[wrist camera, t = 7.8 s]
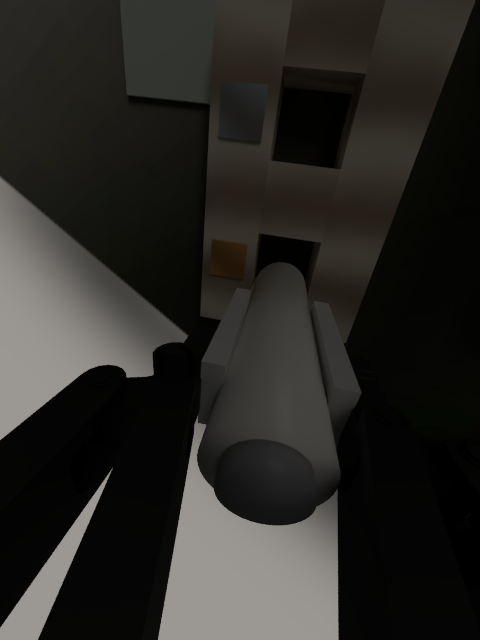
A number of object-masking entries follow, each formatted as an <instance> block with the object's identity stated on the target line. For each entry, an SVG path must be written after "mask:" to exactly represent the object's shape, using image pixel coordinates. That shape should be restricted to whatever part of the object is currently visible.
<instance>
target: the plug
mask: <svg viewBox="0 0 480 640" xmlns="http://www.w3.org/2000/svg"><path fill="white" fill-rule="evenodd" d="M197 462H198V466H199V469H200V472H201V473H202V475H203V477H204V478H205V480H206V481H207V482H208V483H209V484H210V485H211V486H212V487H213V488H214V492H215V495H216V497H217V499H218V500H219V501H220V503H221V504H222V505H223V506H224V507H226V508H227V509H228V510H229V511H231V512H232V513H234V514H236V515H238V516H239V517H242V518H244V519H247V520H249V521H252V522H256V523H260V524H266V525H289V524H294V523H297V522H300V521H302V520H305V519H307V518H308V517H309V516H310V515H312V514H313V512H314V510H315V509H316V506H318V505H320V504H322V503H324V502H325V501H327V500H328V499H329V498H330V497H331V496H332V495H333V494H334V492H335V491H336V490H337V488H338V486H339V483H340V467H339V462H338V457H337V451H336V446H335V441H334V435H333V430H332V425H331V419H330V414H329V409H328V404H327V399H326V393H325V388H324V383H323V377H322V372H321V367H320V361H319V356H318V351H317V345H316V340H315V334H314V329H313V324H312V318H311V313H310V307H309V302H308V296H307V291H306V286H305V281H304V277H303V275H302V273H301V272H300V271H299V270H298V269H297V268H296V267H295V266H293V265H291V264H289V263H284V262H277V263H272V264H270V265H268V266H266V267H265V268H263V269H262V270H261V272H260V273H259V274H258V276H257V279H256V282H255V285H254V288H253V290H252V293H251V296H250V302H249V306H248V309H247V312H246V315H245V318H244V321H243V324H242V328H241V331H240V334H239V337H238V340H237V343H236V346H235V349H234V353H233V356H232V359H231V362H230V365H229V368H228V371H227V374H226V377H225V381H224V383H223V385H222V386H221V387H220V389H219V391H218V393H217V396H216V399H215V402H214V405H213V408H212V411H211V414H210V417H209V420H208V423H207V426H206V428H205V431H204V434H203V437H202V440H201V443H200V446H199V449H198V454H197Z"/></svg>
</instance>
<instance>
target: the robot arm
mask: <svg viewBox="0 0 480 640" xmlns="http://www.w3.org/2000/svg"><path fill="white" fill-rule="evenodd" d="M250 295H251V290H247V289H241V288H237V289H236V291H235V293H234V295H233V298H232V300H231V302H230V304H229V306H228V308H227V310H226V312H225V314H224V316H223V318H222V320H221V322H220V324H219V326H218V328H217V329H214V328H208V327H203V326H199V327H198V328H196V329H194V330H192V331H191V333H190V334H189V336H188V337H187V339H186V340H185V342H184V343H180V342H177V343H175V342H174V343H167V344H163V345H161V346H160V347H158V348H156V350H155V351H154V352H153V368H154V375H153V376H148V377H131V378H126V373H125V371H124V370H123V369H122V368H120V367H118V366H113V365H103V366H98V367H95V368H92V369H89V370H88V371H86V372H84V373H83V374H82V375H80V376H79V377H78V378H76V379H75V380H74V381H73V382H72V383H70V384H69V385H68V386H67V387H65V388H64V389H63V390H62V391H60V392H59V393H58V394H57V395H56V396H54V397H53V398H52V399H51V400H49V401H48V402H47V403H46V404H44V405H43V406H42V407H41V408H40V409H38V410H37V411H36V412H35V413H33V414H32V415H31V416H30V417H28V418H27V419H26V420H25V421H24V422H22V423H21V424H20V425H19V426H17V427H16V428H15V429H14V430H12V431H11V432H10V433H9V434H7V435H6V436H5V437H4V438H3V439H1V440H0V627H1V626H2V624H3V623H4V621H5V620H6V619H7V617H8V616H9V614H10V613H11V611H12V610H13V609H14V607H15V606H16V604H17V603H18V602H19V600H20V599H21V597H22V596H23V594H24V593H25V592H26V590H27V589H28V587H29V586H30V585H31V583H32V582H33V580H34V579H35V577H36V576H37V575H38V573H39V572H40V570H41V569H42V567H43V566H44V564H45V563H46V562H47V560H48V559H49V558H50V556H51V555H52V553H53V552H54V550H55V549H56V548H57V546H58V545H59V543H60V542H61V540H62V539H63V538H64V536H65V535H66V533H67V532H68V530H69V529H70V528H71V526H72V525H73V523H74V522H75V520H76V519H77V518H78V516H79V515H80V513H81V512H82V511H83V509H84V508H85V506H86V505H87V504H88V502H89V500H90V499H91V498H92V496H93V495H94V494H95V492H96V491H97V489H98V488H99V486H100V485H101V484H102V482H103V481H104V479H105V478H106V476H107V475H108V473H109V472H110V470H111V469H112V468H113V469H112V471H111V474H110V476H109V478H108V480H107V483H106V485H105V488H104V490H103V492H102V494H101V496H100V499H99V501H98V503H97V506H96V508H95V510H94V513H93V515H92V517H91V519H90V522H89V524H88V526H87V529H86V531H85V533H84V536H83V538H82V540H81V542H80V545H79V547H78V549H77V552H76V554H75V556H74V559H73V561H72V563H71V565H70V568H69V570H68V572H67V574H66V577H65V579H64V581H63V584H62V586H61V588H60V590H59V593H58V595H57V597H56V600H55V602H54V604H53V606H52V609H51V611H50V613H49V616H48V618H47V620H46V623H45V625H44V627H43V629H42V632H41V634H40V636H39V639H38V640H158V635H159V629H160V624H161V618H162V613H163V607H164V601H165V595H166V590H167V584H168V578H169V572H170V567H171V561H172V555H173V550H174V544H175V538H176V532H177V527H178V520H179V515H180V509H181V504H182V498H183V492H184V487H185V481H186V475H187V469H188V464H189V458H190V452H191V447H192V441H193V435H194V424H195V421H196V419H197V416H198V423H202V424H206V425H207V423H208V420H209V417H210V414H211V411H212V408H213V405H214V402H215V399H216V396H217V393H218V391H219V389H220V387H221V386H222V385H223V383H224V381H225V377H226V374H227V371H228V368H229V365H230V362H231V359H232V356H233V353H234V349H235V346H236V343H237V340H238V337H239V334H240V331H241V328H242V324H243V321H244V318H245V315H246V312H247V309H248V306H249V302H250ZM311 318H312V324H313V329H314V334H315V340H316V345H317V351H318V356H319V361H320V367H321V372H322V377H323V383H324V388H325V393H326V399H327V404H328V409H329V414H330V419H331V425H332V430H333V435H334V441H335V446H336V447H337V445H338V443H339V442H340V447H341V451H342V454H341V456H340V458H339V460H338V462H339V467H340V483H339V486H338V610H339V611H338V612H339V613H338V616H339V617H338V622H339V640H480V529H479V530H478V531H476V530H475V529H474V528H473V527H472V525H471V524H470V523H469V521H468V519H467V518H468V517H469V516H470V515H471V514H473V516H474V517H475V519H476V520H477V522H478V524H479V525H480V443H479V442H477V441H475V440H473V439H471V438H469V437H465V436H462V435H450V436H449V437H447V438H446V439H445V441H444V442H443V443H441V442H439V441H437V440H435V439H432V438H430V437H428V436H425V435H423V434H421V433H419V432H417V431H415V430H413V427H412V425H411V423H410V422H409V420H408V419H407V418H406V417H405V416H404V415H403V414H402V413H401V412H400V411H398V410H397V409H395V408H394V407H392V406H389V404H388V402H387V400H386V398H385V396H384V394H383V392H382V389H381V387H380V385H379V383H378V381H376V380H377V379H376V377H375V375H374V374H373V370H372V368H371V366H370V364H369V363H368V362H367V361H366V360H365V359H364V358H363V357H362V356H361V355H359V354H353V353H348V352H346V349H345V347H344V344H343V341H342V338H341V336H340V333H339V330H338V328H337V325H336V322H335V319H334V317H333V314H332V311H331V309H330V306H329V303H323V302H317V301H314V302H313V306H312V309H311Z"/></svg>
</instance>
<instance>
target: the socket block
mask: <svg viewBox="0 0 480 640" xmlns="http://www.w3.org/2000/svg"><path fill="white" fill-rule="evenodd" d="M474 3H475V0H215V13H214V34H213V55H212V76H211V98H210V119H209V140H208V161H207V182H206V204H205V225H204V246H203V267H202V288H201V310H200V316H202V317H208V318H213V319H218V320H222V318H223V316H224V314H225V312H226V310H227V308H228V306H229V304H230V302H231V300H232V298H233V295H234V293H235V291H236V289H237V288H241V289H247V290H251V293H252V290H253V288H254V285H255V282H256V279H257V277H255V276H256V269H257V262H258V256H259V249H260V243H261V236H262V234H267V235H274V236H280V237H287V238H293V239H300V240H307V241H313V242H314V246H313V250H312V254H311V258H310V262H309V266H308V270H307V274H306V278H305V286H306V291H307V296H308V302H309V307H310V313H311V309H312V306H313V302H314V301H317V302H323V303H329V306H330V309H331V311H332V314H333V317H334V319H335V322H336V325H337V328H338V330H339V333H340V336H341V338H342V341H343V343H346V341H347V339H348V336H349V333H350V331H351V328H352V325H353V323H354V320H355V317H356V315H357V312H358V309H359V307H360V304H361V302H362V299H363V296H364V294H365V291H366V288H367V286H368V283H369V280H370V278H371V275H372V272H373V270H374V267H375V265H376V262H377V259H378V257H379V254H380V251H381V249H382V246H383V243H384V241H385V238H386V236H387V233H388V230H389V228H390V225H391V222H392V220H393V217H394V214H395V212H396V209H397V206H398V204H399V201H400V199H401V196H402V193H403V191H404V188H405V185H406V183H407V180H408V177H409V175H410V172H411V169H412V167H413V164H414V162H415V159H416V156H417V154H418V151H419V148H420V146H421V143H422V140H423V138H424V135H425V132H426V130H427V127H428V125H429V122H430V119H431V117H432V114H433V111H434V109H435V106H436V103H437V101H438V98H439V95H440V93H441V90H442V88H443V85H444V82H445V80H446V77H447V74H448V72H449V69H450V66H451V64H452V61H453V59H454V56H455V53H456V51H457V48H458V45H459V43H460V40H461V37H462V35H463V32H464V29H465V27H466V24H467V22H468V19H469V16H470V14H471V11H472V8H473V6H474ZM284 87H285V88H295V89H305V90H315V91H325V92H335V93H346V94H352V95H351V99H350V103H349V107H348V111H347V115H346V119H345V123H344V127H343V131H342V135H341V139H340V143H339V147H338V151H337V155H336V159H335V163H334V167H333V168H325V167H317V166H309V165H301V164H293V163H285V162H277V161H273V157H274V150H275V144H276V137H277V131H278V124H279V117H280V111H281V104H282V98H283V91H284ZM250 296H251V295H250Z"/></svg>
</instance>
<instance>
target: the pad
mask: <svg viewBox="0 0 480 640" xmlns="http://www.w3.org/2000/svg"><path fill="white" fill-rule="evenodd" d="M120 8H121V22H122V35H123V49H124V62H125V76H126V89H127V95H128V96H132V97H141V98H150V99H159V100H169V101H178V102H187V103H197V104H206V105H210V98H211V76H212V55H213V34H214V13H215V0H120Z"/></svg>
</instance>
